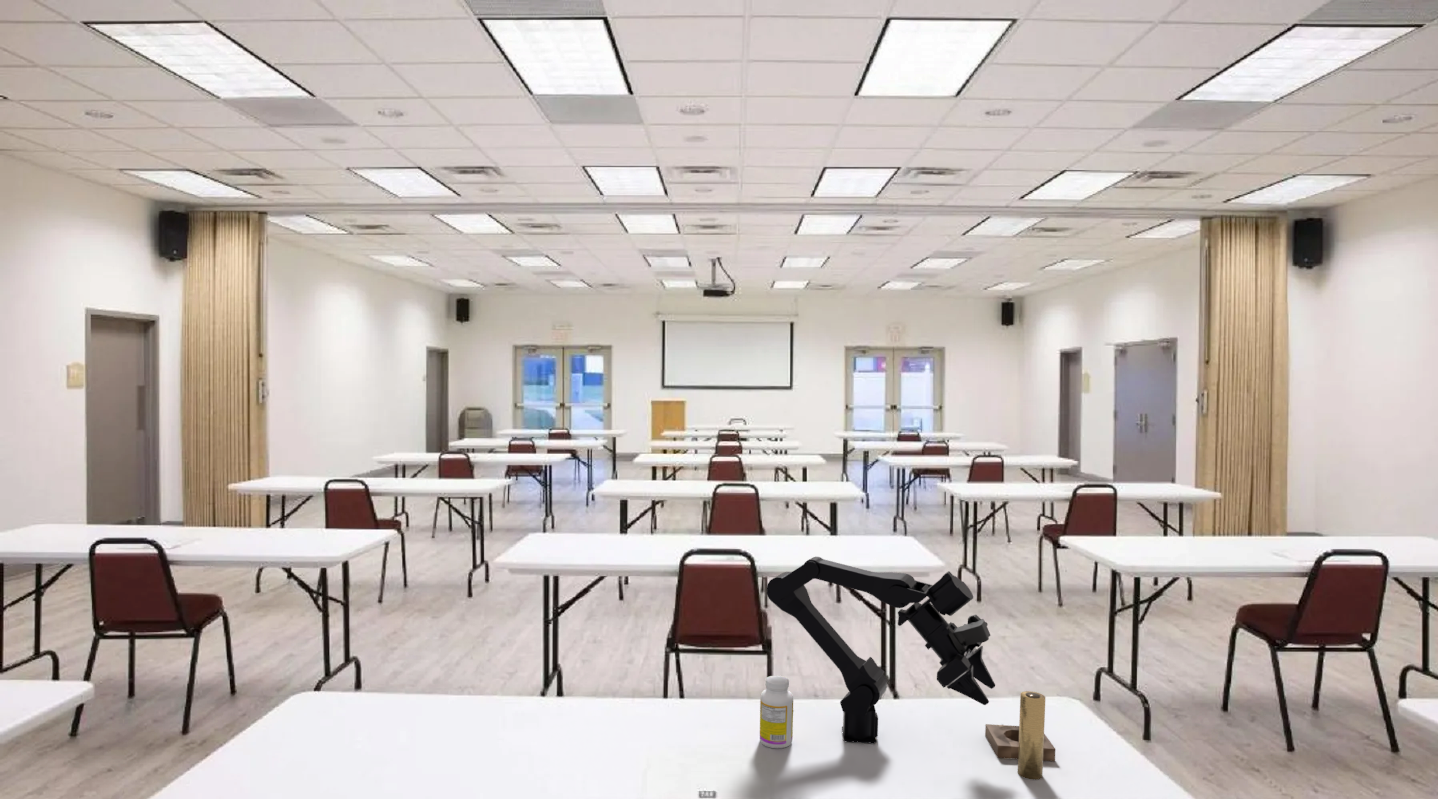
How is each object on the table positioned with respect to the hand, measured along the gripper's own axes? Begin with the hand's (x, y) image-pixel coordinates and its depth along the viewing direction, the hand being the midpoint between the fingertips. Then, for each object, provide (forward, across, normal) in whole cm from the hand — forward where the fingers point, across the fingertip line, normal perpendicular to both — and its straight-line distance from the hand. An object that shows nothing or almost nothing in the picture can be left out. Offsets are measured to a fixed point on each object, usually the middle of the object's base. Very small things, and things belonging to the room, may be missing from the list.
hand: (990, 695), depth 159 cm
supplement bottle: (-18, -11, +38) cm, 43 cm away
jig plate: (+13, +10, +6) cm, 18 cm away
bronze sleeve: (+15, 0, +4) cm, 16 cm away
